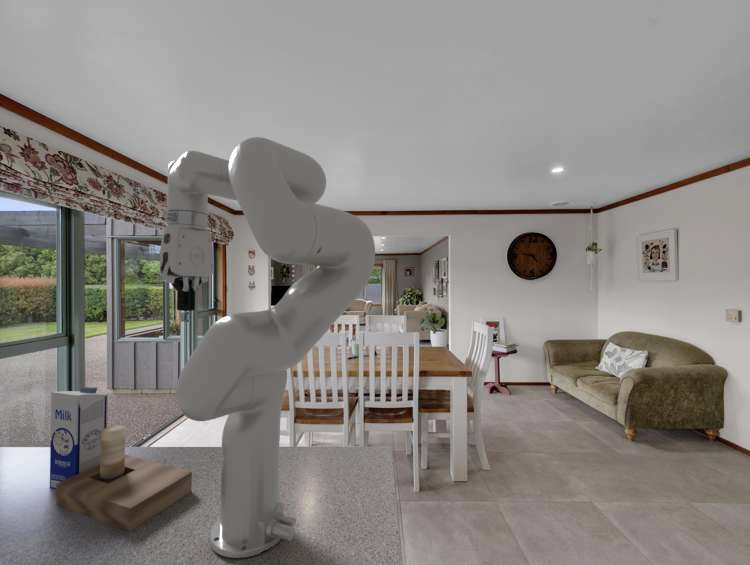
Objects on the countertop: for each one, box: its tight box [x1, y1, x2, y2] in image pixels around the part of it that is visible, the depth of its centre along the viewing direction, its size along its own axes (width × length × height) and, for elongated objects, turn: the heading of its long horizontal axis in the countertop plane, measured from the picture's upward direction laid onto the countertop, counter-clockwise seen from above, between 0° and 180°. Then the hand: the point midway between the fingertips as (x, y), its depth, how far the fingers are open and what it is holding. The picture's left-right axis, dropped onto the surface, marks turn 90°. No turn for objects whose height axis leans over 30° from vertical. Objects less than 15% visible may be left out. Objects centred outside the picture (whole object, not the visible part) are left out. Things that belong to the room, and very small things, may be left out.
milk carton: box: [49, 386, 109, 490], centre depth 78 cm, size 7×7×20 cm
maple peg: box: [100, 424, 126, 484], centre depth 74 cm, size 4×4×12 cm
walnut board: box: [55, 454, 193, 532], centre depth 73 cm, size 20×13×4 cm, turn 70°
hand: (185, 310), depth 77 cm, fingers closed
